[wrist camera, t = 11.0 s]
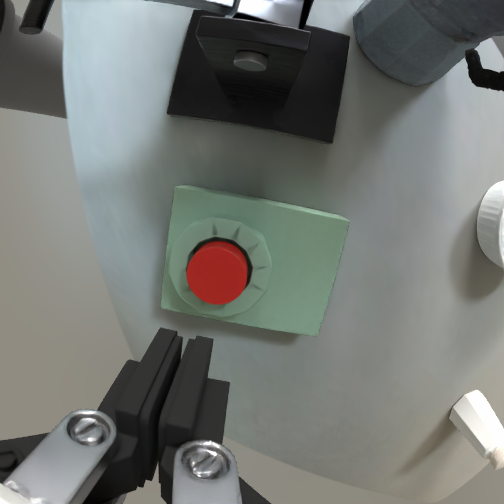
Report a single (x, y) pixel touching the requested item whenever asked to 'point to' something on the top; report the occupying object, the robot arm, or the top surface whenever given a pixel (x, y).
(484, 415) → the pepper shaker
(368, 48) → the moka pot
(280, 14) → the lever
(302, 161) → the top surface
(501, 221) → the ramekin
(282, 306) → the control block
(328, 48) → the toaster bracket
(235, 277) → the stop button
